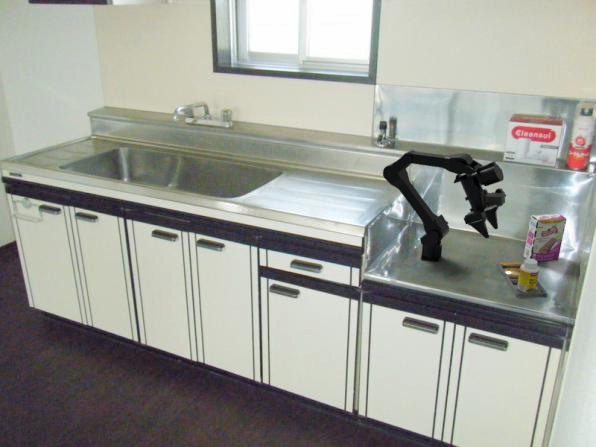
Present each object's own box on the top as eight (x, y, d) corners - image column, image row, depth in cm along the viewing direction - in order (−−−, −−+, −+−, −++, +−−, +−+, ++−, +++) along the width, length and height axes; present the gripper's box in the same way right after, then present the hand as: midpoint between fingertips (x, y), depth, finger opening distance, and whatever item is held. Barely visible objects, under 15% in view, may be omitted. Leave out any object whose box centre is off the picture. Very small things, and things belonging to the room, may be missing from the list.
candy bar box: (530, 263, 203) (537, 220, 197) (522, 257, 208) (529, 215, 201) (559, 260, 205) (567, 218, 198) (551, 254, 209) (558, 212, 203)
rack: (547, 297, 181) (547, 294, 181) (516, 297, 182) (516, 293, 181) (523, 265, 202) (524, 262, 201) (496, 265, 202) (496, 262, 201)
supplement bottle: (528, 295, 182) (532, 266, 179) (513, 288, 187) (517, 260, 183) (539, 290, 185) (544, 262, 181) (524, 283, 190) (528, 255, 186)
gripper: (487, 190, 179) (506, 236, 180) (505, 175, 193) (523, 218, 194) (455, 201, 186) (474, 245, 187) (475, 185, 200) (492, 226, 201)
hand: (492, 233), depth 192 cm, fingers open, 9 cm apart
